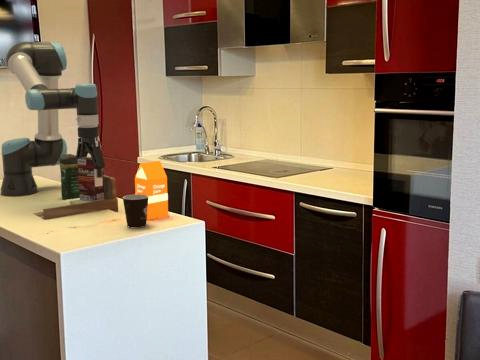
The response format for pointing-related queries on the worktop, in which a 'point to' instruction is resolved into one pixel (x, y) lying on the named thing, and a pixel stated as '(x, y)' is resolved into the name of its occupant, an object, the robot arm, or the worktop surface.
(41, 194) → the worktop surface
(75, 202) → the bookend
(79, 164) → the supplement box
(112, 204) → the shelf
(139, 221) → the coffee mug
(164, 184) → the orange juice
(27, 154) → the robot arm
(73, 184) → the coffee jar
